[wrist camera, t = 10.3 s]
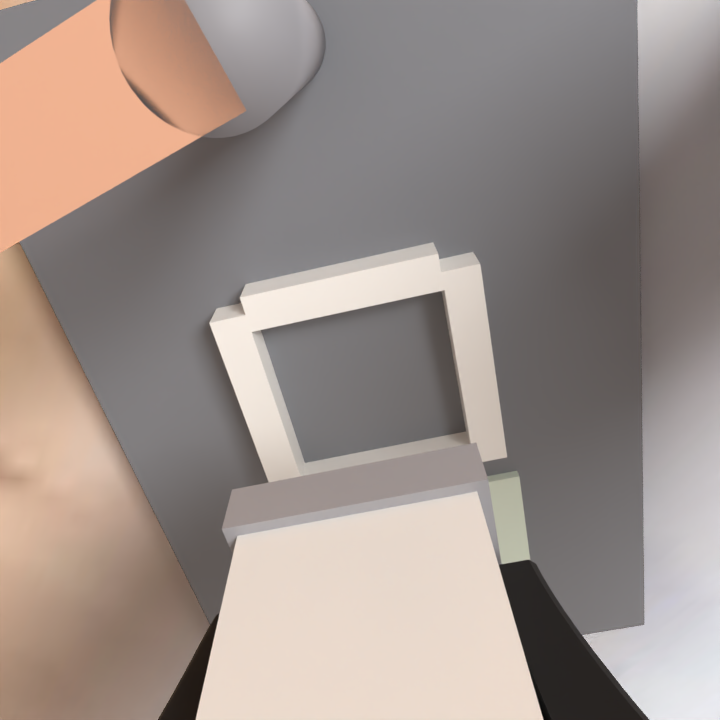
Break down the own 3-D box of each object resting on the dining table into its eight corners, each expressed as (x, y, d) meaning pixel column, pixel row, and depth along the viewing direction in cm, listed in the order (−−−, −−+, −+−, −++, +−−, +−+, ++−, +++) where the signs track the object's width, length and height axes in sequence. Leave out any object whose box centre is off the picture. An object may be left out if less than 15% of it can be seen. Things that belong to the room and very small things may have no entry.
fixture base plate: (615, -151, 13) (657, -181, 11) (633, 603, 24) (656, 647, 22) (-59, 33, 15) (-116, 32, 13) (246, 668, 25) (239, 714, 24)
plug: (476, 442, 10) (609, 855, 5) (505, 614, 12) (622, 1040, 7) (231, 489, 11) (119, 919, 5) (298, 648, 13) (262, 1078, 7)
